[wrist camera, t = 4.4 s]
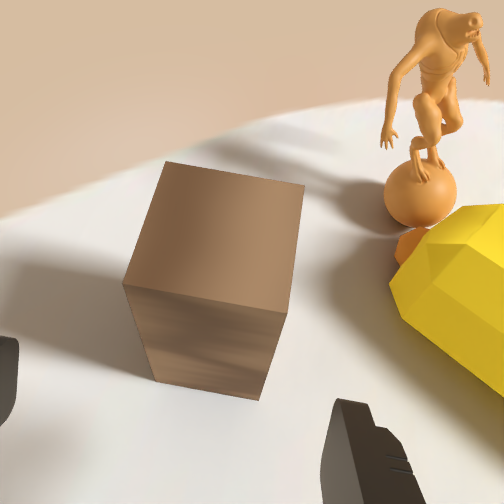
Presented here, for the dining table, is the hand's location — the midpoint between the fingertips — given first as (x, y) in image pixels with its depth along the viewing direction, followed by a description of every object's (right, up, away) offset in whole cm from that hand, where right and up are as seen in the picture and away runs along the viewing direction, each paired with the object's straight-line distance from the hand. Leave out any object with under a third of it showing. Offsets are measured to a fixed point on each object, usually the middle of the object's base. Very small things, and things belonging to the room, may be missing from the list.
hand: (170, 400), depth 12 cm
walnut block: (0, -1, +12) cm, 12 cm away
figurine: (+11, +7, +18) cm, 22 cm away
